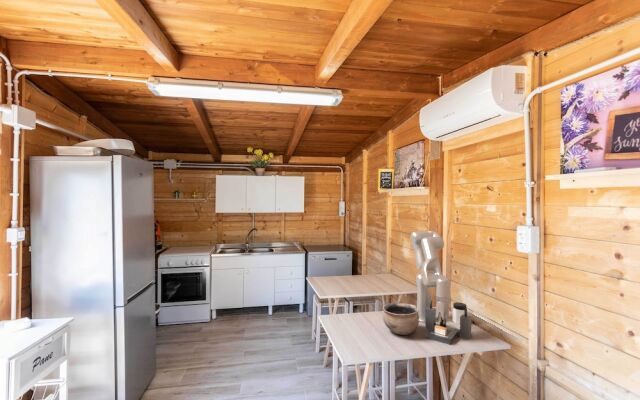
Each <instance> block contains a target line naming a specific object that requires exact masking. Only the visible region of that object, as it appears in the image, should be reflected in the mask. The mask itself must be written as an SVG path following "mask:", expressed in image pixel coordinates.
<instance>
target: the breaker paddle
mask: <svg viewBox="0 0 640 400" xmlns="http://www.w3.org/2000/svg"><path fill="white" fill-rule="evenodd" d="M435 333H438V334H442V335H446V334H447V328H445V327H441V326H437V325H436V326H435Z"/></svg>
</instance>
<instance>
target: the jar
mask: <svg viewBox="0 0 640 400" xmlns="http://www.w3.org/2000/svg"><path fill="white" fill-rule="evenodd" d="M452 305H453V306H452V313H451V314H452V320H451V321H452V322H454V324H456V325H460V316H461V315H464V308H465V307H466V308H467V304H466V303H463V302H454V303H453V304H452Z"/></svg>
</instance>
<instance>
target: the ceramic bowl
mask: <svg viewBox="0 0 640 400" xmlns="http://www.w3.org/2000/svg"><path fill="white" fill-rule="evenodd" d="M382 310H383V314H382V319H383V324H384V325H385V326H386V328H388V329H389V330H390V331H391V332H392V333H394V334H397V335H402V336H408V335H410V334H412V333H414V332H415V330H417V328H418V327H419V324H420V321H419V315H418V312H419V309H418V310H417V305H414V304H411V303H403V302H389V303H387V304H384V305H383V306H382Z"/></svg>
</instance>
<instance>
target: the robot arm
mask: <svg viewBox="0 0 640 400" xmlns="http://www.w3.org/2000/svg"><path fill="white" fill-rule="evenodd" d="M409 237H410V245H411V247H412V250H413V252H414V260H415V267H416V269H417V270H418V271H420V272H419V273H417V274H416V276H415V281H416V292H417V294H416V297H417V298H416V301H417V302H416V303H417V305H416V307H417V310H418V309H419V312H418V315H419V323H420V322H421V323H425V309H426V308H428V307H430V300H432V301H433V293H432V291H431V290H430V289H429V288H436V290H435V291H436V293H435V294H436V295H435V296H436V297H435V301H436V304H435V305H436V307H435V308H436V319H438V323H439V324H440V326H441V327H445V328H446V326H447V318H448V317H449V315H450V305H449V304H450V302H451V301H450V300H451V290H450V289H451V286H450V285H451V281H450V279H449V278H447V276H446V275H444V274H443V273H442V268H441V262H440V260H439V258H440V257H439V253H438V250H443V249H444V247H445V241H444V239H443V238H442V236H440V234H438V233H437V232H436V231H433V230H418V231H412V232H411V234H410V236H409ZM428 271H429V272H428ZM430 271H431V272H430Z"/></svg>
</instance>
